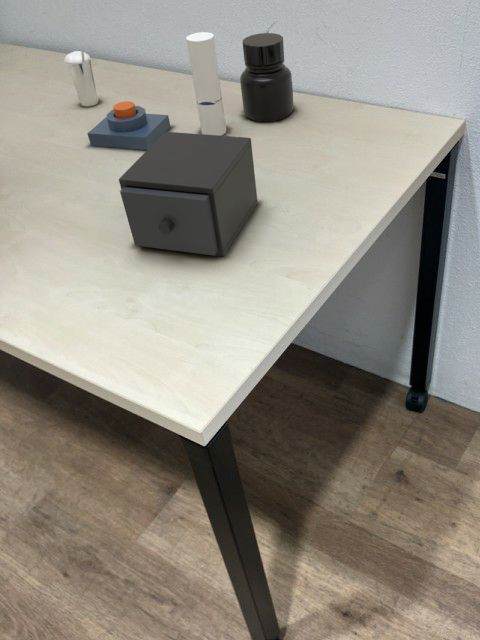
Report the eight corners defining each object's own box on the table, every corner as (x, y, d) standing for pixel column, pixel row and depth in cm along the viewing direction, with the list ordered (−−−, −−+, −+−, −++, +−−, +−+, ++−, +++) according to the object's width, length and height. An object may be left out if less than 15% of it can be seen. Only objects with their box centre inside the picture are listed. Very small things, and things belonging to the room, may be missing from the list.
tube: (218, 124, 107) (204, 30, 96) (231, 131, 104) (218, 36, 94) (197, 131, 105) (181, 37, 95) (210, 139, 103) (195, 43, 92)
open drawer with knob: (211, 261, 76) (201, 205, 71) (130, 250, 79) (114, 196, 74) (247, 205, 85) (241, 151, 80) (174, 197, 88) (163, 145, 83)
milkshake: (87, 111, 115) (71, 54, 108) (73, 104, 118) (56, 48, 111) (108, 103, 117) (93, 47, 110) (94, 96, 120) (78, 41, 113)
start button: (111, 119, 103) (109, 109, 101) (121, 110, 105) (119, 100, 104) (130, 120, 102) (128, 110, 100) (140, 112, 104) (138, 101, 103)
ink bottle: (303, 106, 110) (300, 33, 101) (281, 126, 105) (276, 51, 96) (257, 99, 113) (250, 28, 105) (233, 118, 108) (223, 45, 100)
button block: (90, 145, 104) (84, 122, 102) (115, 123, 110) (110, 101, 107) (148, 150, 102) (142, 126, 99) (170, 127, 107) (166, 104, 105)
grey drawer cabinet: (223, 256, 78) (212, 188, 71) (136, 245, 82) (118, 179, 75) (257, 202, 87) (251, 137, 80) (178, 194, 90) (164, 131, 84)
